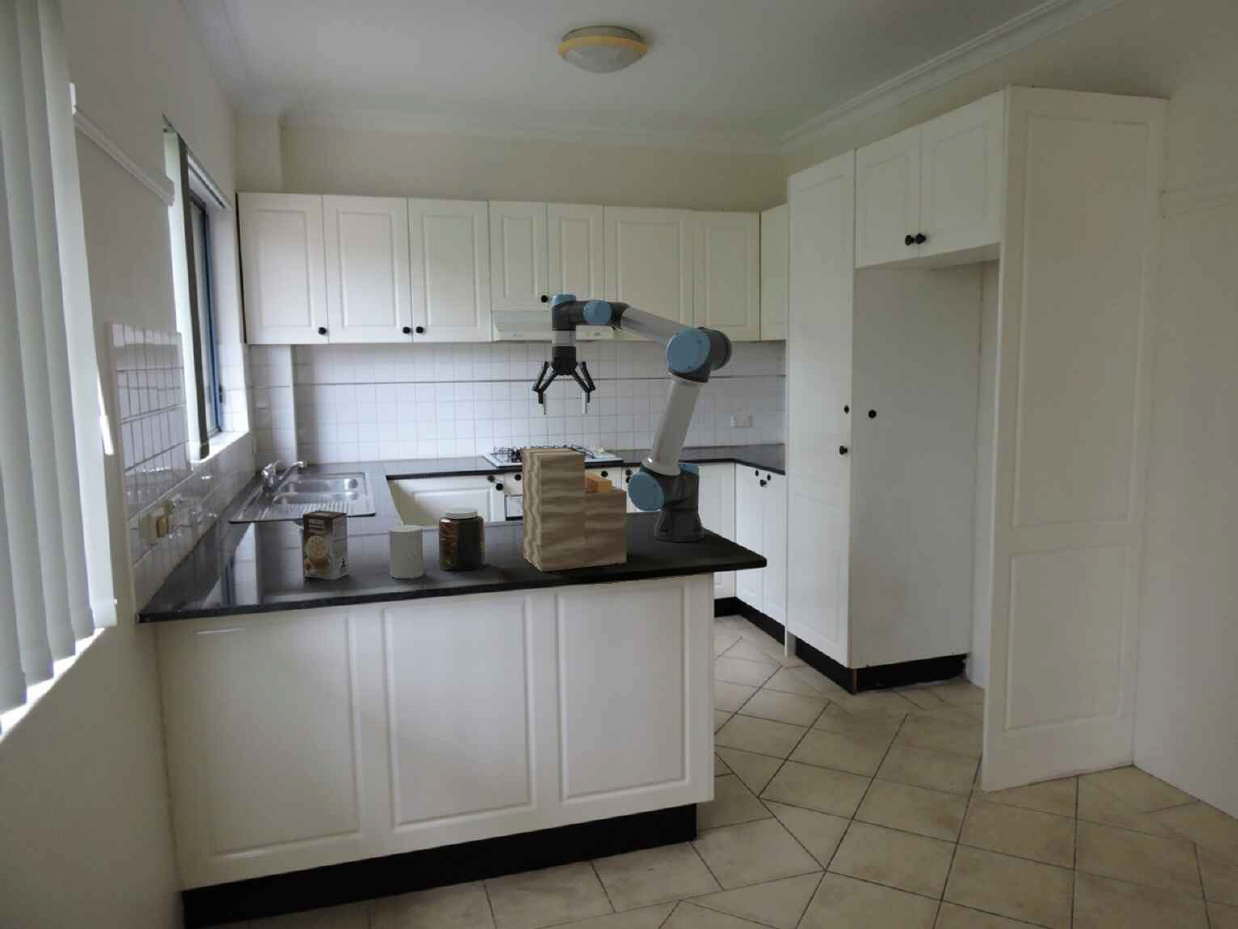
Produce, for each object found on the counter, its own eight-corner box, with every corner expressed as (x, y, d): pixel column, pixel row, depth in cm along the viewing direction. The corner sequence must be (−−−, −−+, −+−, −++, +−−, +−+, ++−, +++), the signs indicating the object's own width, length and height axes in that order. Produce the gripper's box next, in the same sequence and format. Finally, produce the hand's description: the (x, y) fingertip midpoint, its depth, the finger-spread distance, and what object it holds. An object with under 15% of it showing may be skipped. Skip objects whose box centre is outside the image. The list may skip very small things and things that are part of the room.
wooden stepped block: (626, 562, 228) (626, 452, 224) (540, 571, 219) (539, 456, 214) (602, 548, 243) (602, 445, 239) (521, 556, 234) (520, 449, 230)
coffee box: (303, 576, 212) (300, 514, 210) (320, 570, 218) (317, 509, 216) (333, 580, 209) (331, 516, 207) (350, 574, 215) (347, 512, 213)
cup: (414, 579, 210) (413, 532, 209) (384, 577, 212) (383, 531, 210) (428, 571, 218) (427, 525, 217) (399, 569, 220) (397, 524, 218)
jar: (463, 574, 216) (462, 516, 214) (430, 567, 222) (428, 511, 220) (493, 564, 226) (493, 509, 224) (461, 558, 232) (459, 504, 230)
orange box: (611, 492, 224) (611, 480, 224) (597, 492, 223) (598, 481, 222) (577, 477, 248) (577, 467, 248) (564, 478, 246) (564, 468, 246)
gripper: (597, 345, 269) (596, 412, 272) (521, 345, 259) (522, 414, 262) (606, 345, 262) (605, 413, 265) (529, 345, 253) (529, 416, 255)
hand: (564, 414), depth 264 cm, fingers open, 13 cm apart
